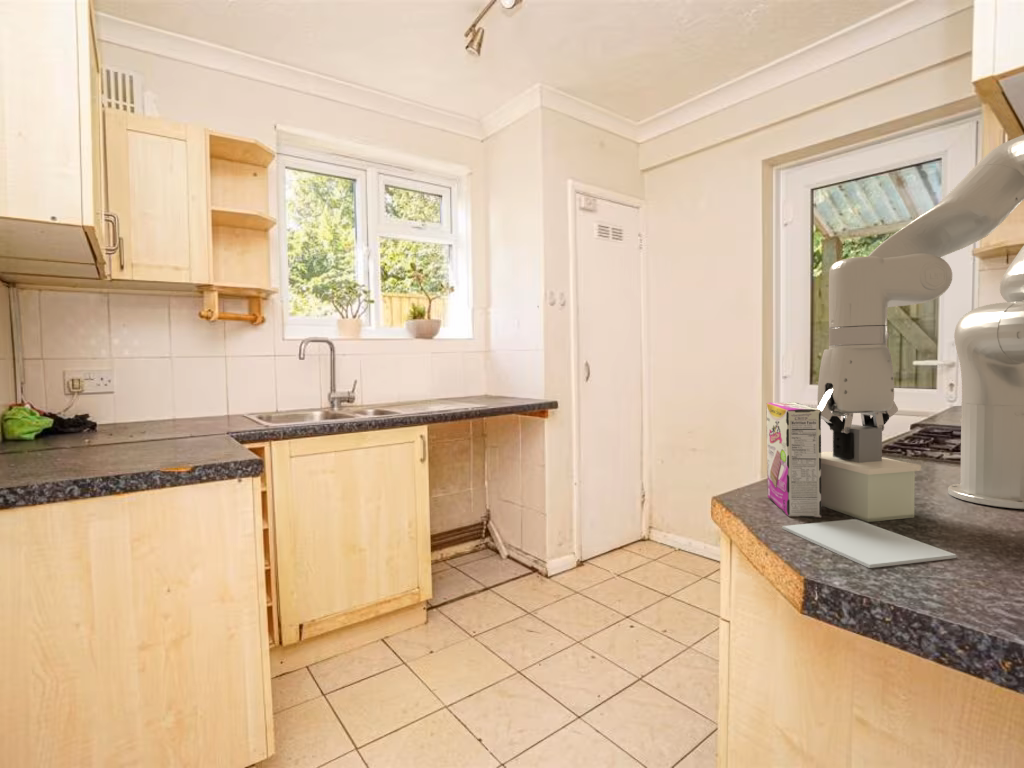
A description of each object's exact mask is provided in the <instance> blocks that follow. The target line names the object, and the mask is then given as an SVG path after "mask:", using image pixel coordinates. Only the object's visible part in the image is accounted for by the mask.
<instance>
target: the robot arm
mask: <svg viewBox="0 0 1024 768" xmlns="http://www.w3.org/2000/svg"><path fill="white" fill-rule="evenodd" d="M1022 202H1024V134H1022V135H1019V136H1017V137H1015V138H1011V139H1009V140H1007V141H1005V142H1003V143H1001V144H1000V145H997V147H995V148H994V149H992V150H991V151H989V152H988V153H987V154H986V155H985V156H984V157H983V158H982V159H981V160H980V161H979V162H978V163H977V164H976V165H975V166H974V167H973V168H972V169H971V171H969V172H968V173H967V174H966V175H965V177H963V179H962V180H961V181H959V183H958V184H957V185H956V186H954V188H953V189H952V190H950V192H948V194H947V195H946V196H944V198H943V199H942V200H941V201H939V202H938V203H937V204H936V205H934V206H932V207H931V208H930V209H928V210H927V211H925V212H923V213H922V214H921V215H919V216H918V217H916V218H915V219H913V220H912V221H911V222H909V223H908V224H907V225H905V226H904V227H902V228H900V229H899V230H898V231H896V232H894V233H893V234H892V235H890V236H888V238H887V239H885V240H884V241H882V242H881V243H880V244H879V245H878V246H876V247H875V249H873V250H872V251H871V253H869V255H867V256H856V257H855V256H854V257H849V258H848V257H847V258H844V259H840V260H837V261H835V262H833V264H832V265H831V266H830V267H829V269H828V271H829V272H828V348H826V349H824V350H823V354H822V356H821V361H820V365H819V366H820V368H819V371H818V372H819V373H818V381H817V382H818V384H817V406H816V407H817V409H820V410H821V419H822V421H824V422H825V423H826V424H827V426H828V427H829V429H830V431H831V432H832V433H833V432H834V456H836V457H840V458H844V459H853V458H854V434H853V433H850V431H851V425H853V424H852V423H853V418H854V414H860V417H861V423H862V424H861V426H868V427H875V428H882V432H883V431H884V430H885V425H886V423H887V422H888V421H889V419H890V418H891V417H893V415H895V414H896V413H897V412H898V410H899V407H898V406H897V404H896V402H895V401H894V399H895V378H894V368H893V361H892V356H891V352H890V348H889V347H888V339H890V333H889V332H888V308H893V307H904V306H912V305H920V304H924V303H929V302H931V301H934V300H936V299H937V298H939V297H941V296H942V295H943V294H945V293H946V291H947V290H948V289H949V288H950V286H951V284H952V281H953V271H952V267H951V266H950V265H949V263H948V262H947V260H945V259H944V258H942V257H944V256H947V255H949V254H952V253H956V252H957V251H960V250H963V249H964V248H967V247H969V246H971V245H973V244H974V243H977V242H978V241H980V240H983V239H984V238H986V237H987V236H989V235H990V234H992V233H993V232H994V231H995V230H996V229H997V228H998V227H999V226H1000V225H1001V224H1003V222H1004V221H1005V220H1006V219H1007V218H1008V217H1009V216H1010V214H1012V212H1014V210H1016V209H1017V208H1018V207H1019V205H1021V204H1022ZM999 283H1000V285H999V293H1000V296H1002V298H1003V300H1004V301H1005V302H999V303H997V302H996V303H990V304H985V305H982V306H979V307H976V308H974V309H971V310H969V311H968V312H967V313H965V314H964V315H963V316H962V317H961V318H960V319H959V321H958V322H957V323H956V326H955V329H954V334H953V335H954V344H955V345H954V346H955V349H956V352H957V353H956V354H957V357H958V360H959V361H958V362H959V366H960V367H959V368H960V373H961V374H960V375H961V376H960V378H961V416H960V417H961V422H960V423H961V425H960V426H961V427H960V430H961V431H960V476H959V478H960V482H959V483H953V484H950V485H949V486H948V489H947V490H948V491H947V493H948V494H949V495H950V496H951V497H953V498H956V499H959V500H962V501H966V502H969V503H975V504H979V505H984V506H989V507H990V506H991V507H996V508H997V507H998V508H1005V509H1006V508H1007V509H1014V510H1015V509H1016V510H1017V509H1018V510H1024V244H1023V245H1022V247H1021V248H1020V250H1019V251H1018V253H1017V254H1016V256H1015V257H1014V258H1013V260H1012V262H1011V263H1010V264H1009V266H1008V267H1007V269H1006V271H1005V272H1004V274H1003V276H1002V278H1001V281H1000V282H999ZM841 417H842V420H841Z"/></svg>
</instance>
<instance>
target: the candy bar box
mask: <svg viewBox="0 0 1024 768" xmlns="http://www.w3.org/2000/svg"><path fill="white" fill-rule="evenodd" d="M821 422H822V421H821V410H820V409H817V408H816V407H812V406H808V405H805V404H803V403H799V402H794V401H793V402H790V401H789V402H788V401H787V402H784V401H783V402H782V401H781V402H775V401H774V402H773V401H772V402H767V403H766V448H767V449H766V452H767V453H766V456H767V458H766V461H767V463H766V464H767V468H766V471H767V472H766V473H767V498H768V499H769V500H771V501H772V503H773V504H775V505H776V506H777V507H778V508H779V509H780V511H782V512H783V513H784V514H785V515H786V516H787V517H789V518H811V519H812V518H813V519H814V518H822V506H821V452H822V427H821V425H822V423H821Z"/></svg>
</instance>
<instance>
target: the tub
mask: <svg viewBox="0 0 1024 768" xmlns="http://www.w3.org/2000/svg"><path fill="white" fill-rule="evenodd" d="M915 474H916V471H910V472H897V473H885V474H872V475H867V474H863V473H859V472H855V471H851V470H847V469H843V468H839V467H835V466H831V465H826V464H822V463H821V507H824V508H827V509H830V510H833V511H834V512H835V511H836V512H838V513H842V514H844V515H847V516H850V517H853V518H854V519H857V520H860V521H863V522H866V523H870V522H871V523H873V522H880V521H881V522H882V521H889V520H890V521H891V520H901V519H902V520H903V519H911V518H912V519H914V518H915V496H916V495H915V494H916V493H915V491H916V490H915V489H916V488H915V486H916V485H915V484H916V483H915V481H916V478H915V476H916V475H915Z"/></svg>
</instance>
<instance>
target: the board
mask: <svg viewBox="0 0 1024 768" xmlns="http://www.w3.org/2000/svg"><path fill="white" fill-rule="evenodd" d="M781 529H782V530H784V531H786V532H788V533H791V534H793V535H795V536H797V537H799V538H802V539H804V540H805V541H808V542H811V543H813V544H815V545H817V546H819V547H821V548H824V549H826V550H829V551H830V552H833V553H835V554H837V555H839V556H841V557H844V558H846V559H848V560H850V561H853V562H855V563H856V564H859V565H862V566H863V567H866V568H868V569H875V568H882V567H891V566H900V565H908V564H917V563H925V562H933V561H941V560H943V561H944V560H950V559H957V554H955V553H954V552H951V551H947V550H944V549H942V548H939V547H936V546H934V545H930V544H928V543H924V542H923V541H919V540H916V539H913V538H911V537H908V536H904V535H902V534H899V533H897V532H893V531H891V530H887V529H885V528H882V527H879V526H877V525H875V524H870V522H866V521H864V520H861V519H858V518H854V519H853V518H851V519H843V520H832V521H820V522H811V523H802V524H790V525H782V526H781Z"/></svg>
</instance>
